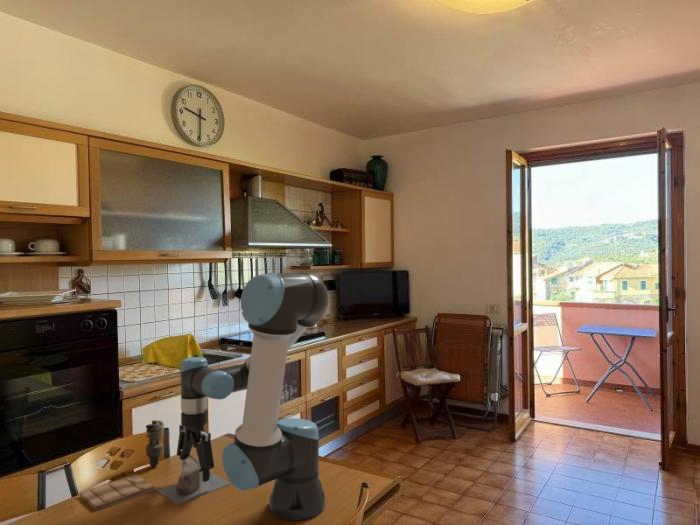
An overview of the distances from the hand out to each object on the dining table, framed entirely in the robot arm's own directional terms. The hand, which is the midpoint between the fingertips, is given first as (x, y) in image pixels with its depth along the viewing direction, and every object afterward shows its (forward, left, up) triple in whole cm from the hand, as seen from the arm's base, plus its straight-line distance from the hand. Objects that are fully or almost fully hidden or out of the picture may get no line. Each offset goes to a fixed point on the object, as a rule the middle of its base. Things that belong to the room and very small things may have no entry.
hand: (195, 486), depth 145 cm
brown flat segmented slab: (+13, +17, 0) cm, 21 cm away
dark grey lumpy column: (+23, +1, -1) cm, 23 cm away
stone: (0, 0, 0) cm, 0 cm away
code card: (0, 0, 0) cm, 0 cm away
